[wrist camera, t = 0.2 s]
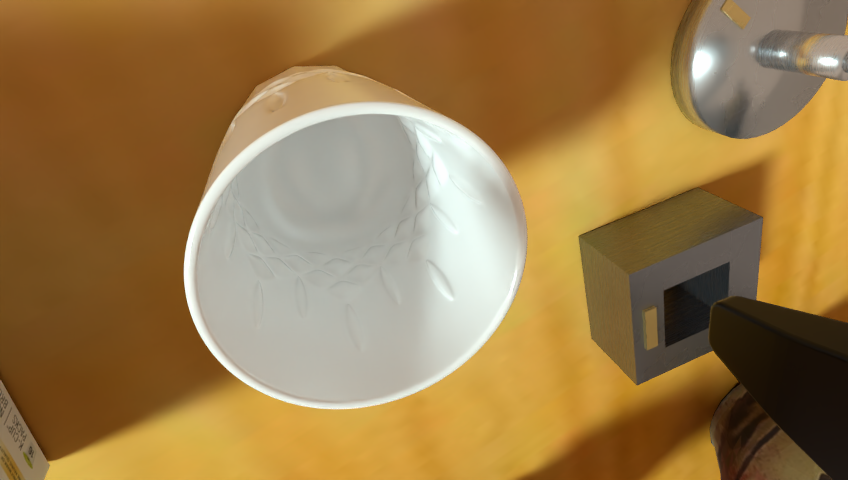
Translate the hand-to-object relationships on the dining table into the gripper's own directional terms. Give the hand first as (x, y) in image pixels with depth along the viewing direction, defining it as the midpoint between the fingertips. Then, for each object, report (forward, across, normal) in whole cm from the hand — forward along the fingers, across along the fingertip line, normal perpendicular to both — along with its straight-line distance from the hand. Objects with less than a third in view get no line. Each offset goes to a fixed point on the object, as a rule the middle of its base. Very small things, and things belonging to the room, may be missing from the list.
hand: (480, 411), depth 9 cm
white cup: (+14, +1, -1) cm, 15 cm away
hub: (+14, -19, 0) cm, 24 cm away
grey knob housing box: (+14, -14, +10) cm, 23 cm away
